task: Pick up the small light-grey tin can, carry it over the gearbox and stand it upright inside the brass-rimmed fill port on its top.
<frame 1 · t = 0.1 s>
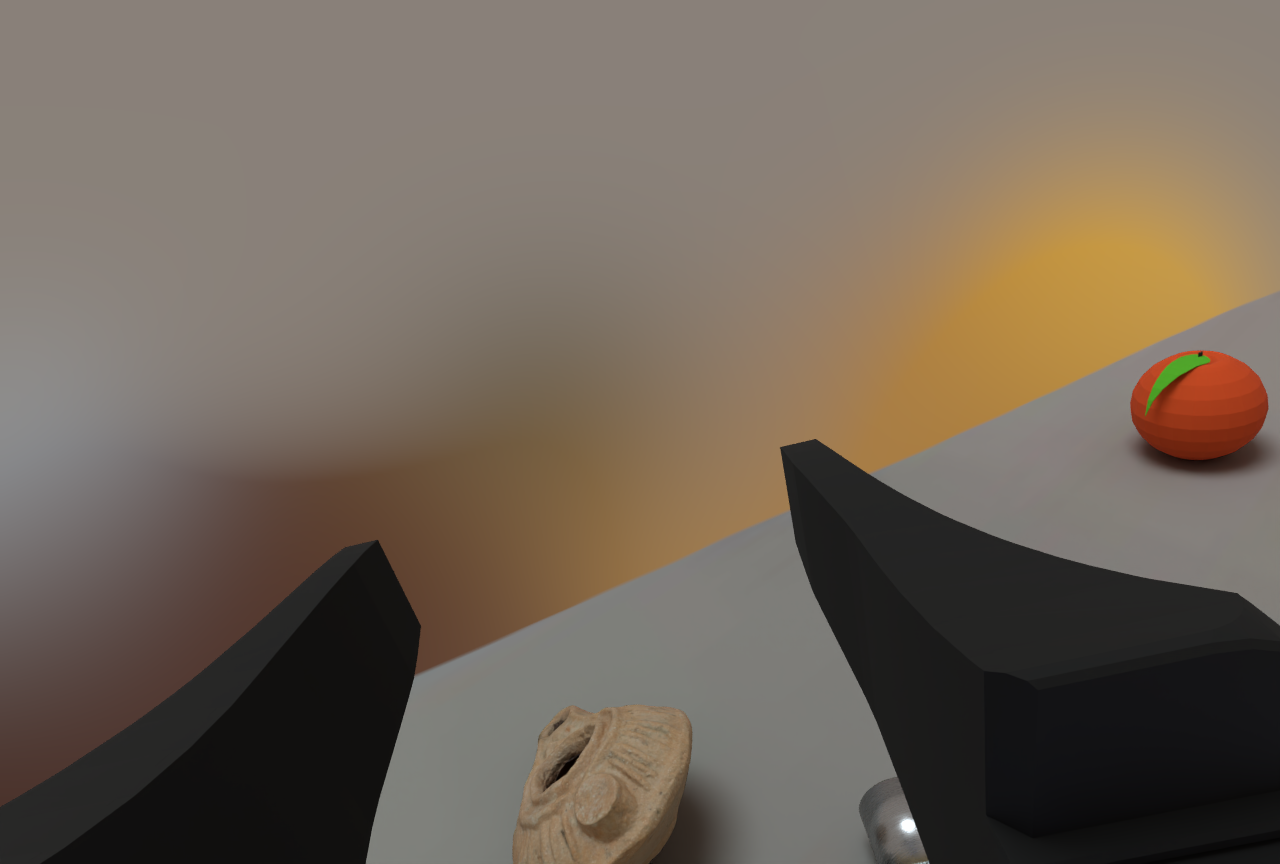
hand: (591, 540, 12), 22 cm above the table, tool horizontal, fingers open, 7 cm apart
pottery oil lamp: (612, 827, 32), on the table
clementine: (1186, 459, 47), on the table
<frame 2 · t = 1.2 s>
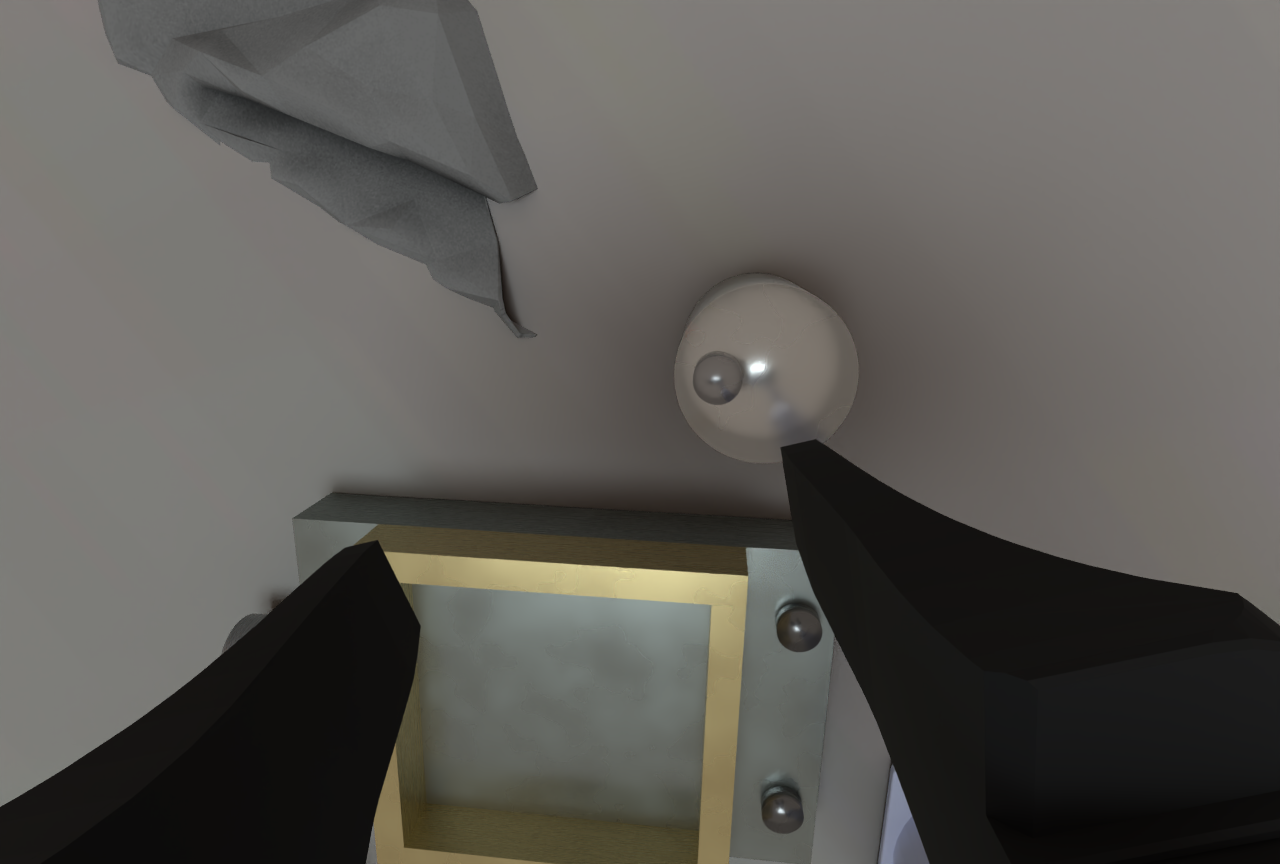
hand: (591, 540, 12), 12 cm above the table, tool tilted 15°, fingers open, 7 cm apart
gearbox: (573, 656, 27), on the table
tin can: (753, 345, 23), on the table
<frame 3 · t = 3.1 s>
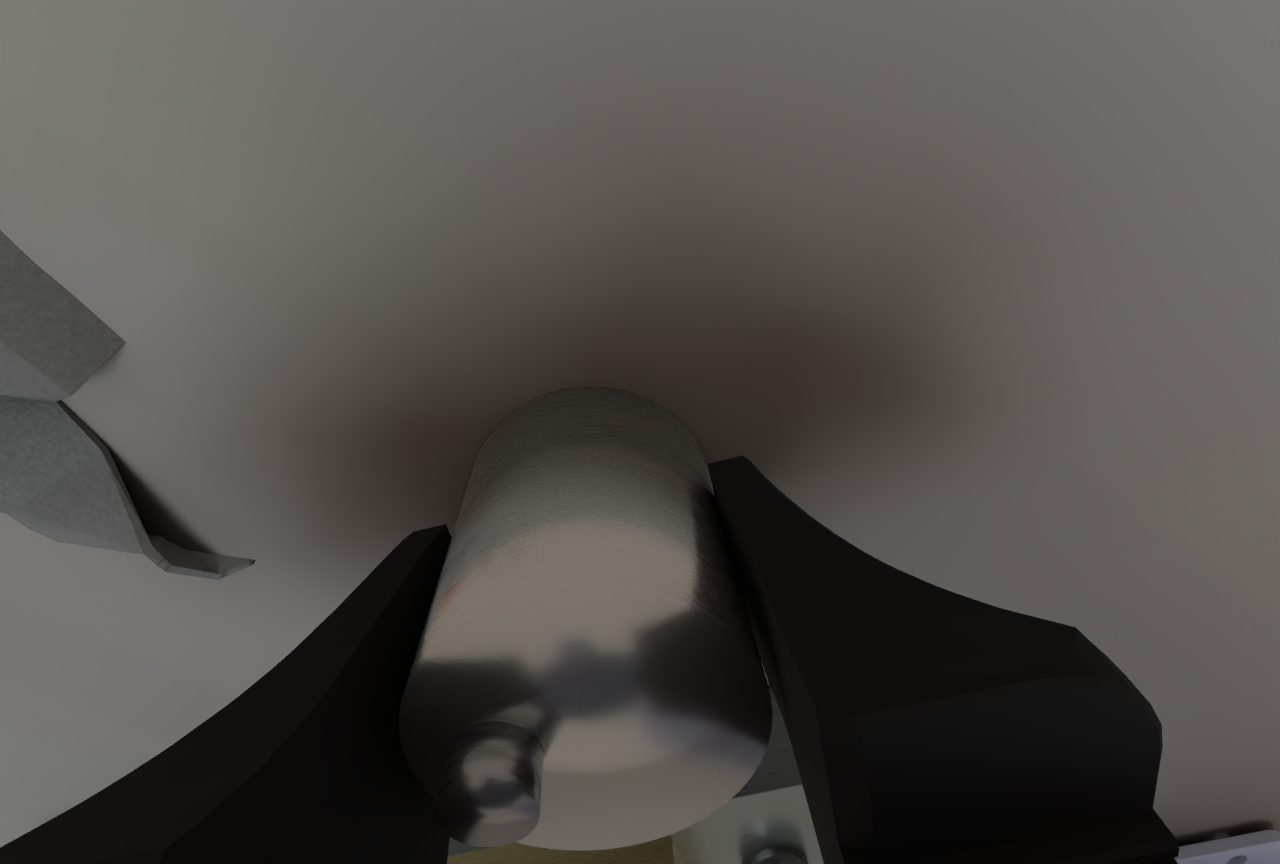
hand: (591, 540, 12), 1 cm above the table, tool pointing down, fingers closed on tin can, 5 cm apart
tin can: (591, 497, 14), on the table, touching gripper
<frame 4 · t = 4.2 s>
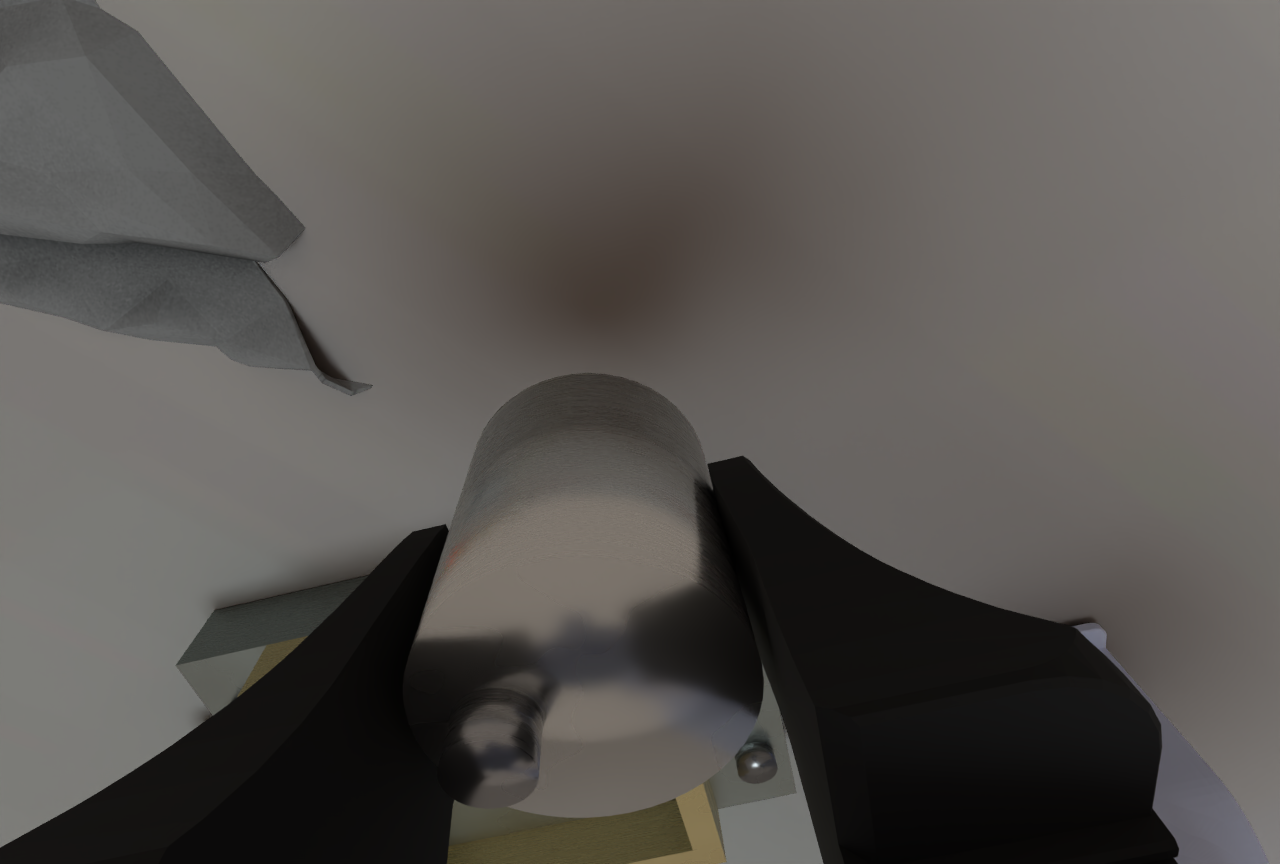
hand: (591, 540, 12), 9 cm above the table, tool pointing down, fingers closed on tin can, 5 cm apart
gearbox: (521, 679, 27), on the table
tin can: (590, 481, 14), point 8 cm above the table, touching gripper
when the fingers open (5 cm above the table, at t = 6.4 s): tin can stays where it is, resting on gearbox.
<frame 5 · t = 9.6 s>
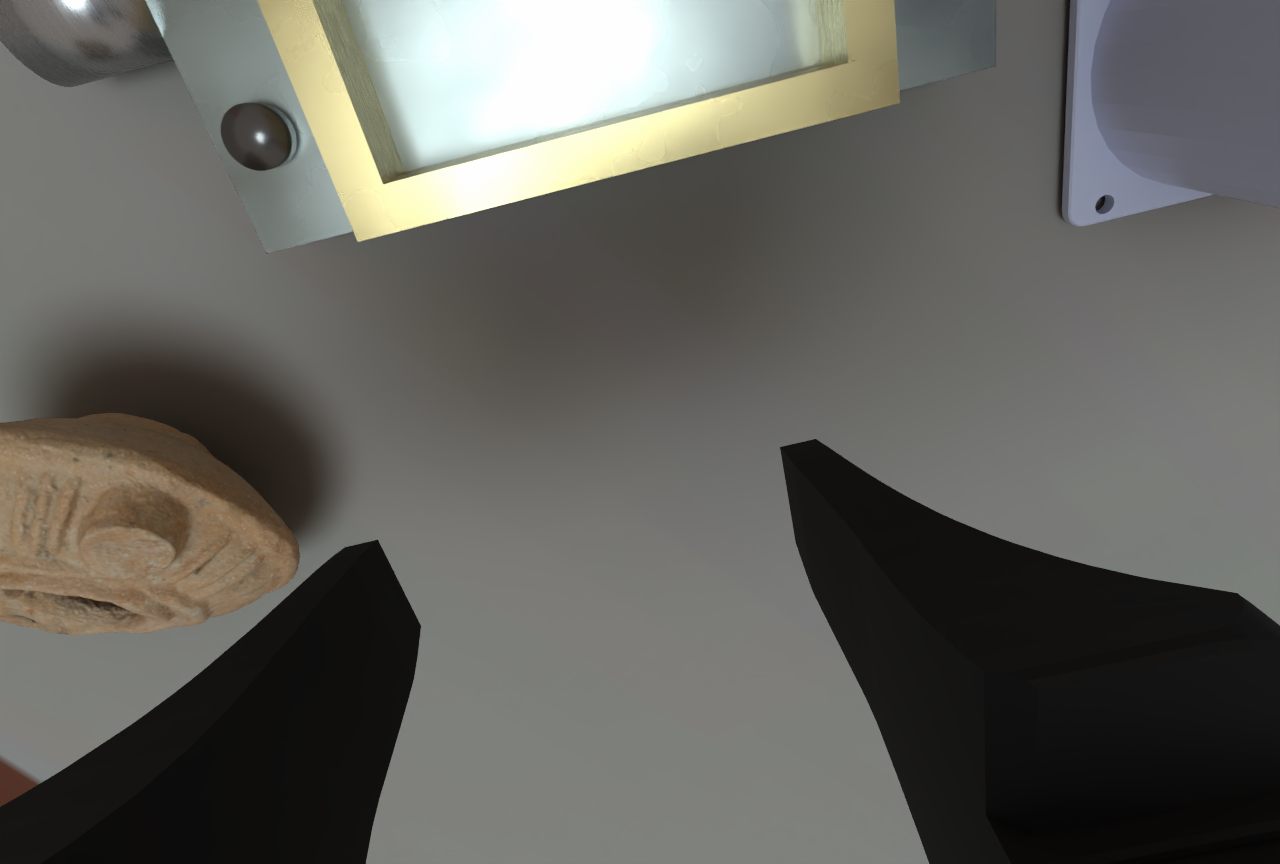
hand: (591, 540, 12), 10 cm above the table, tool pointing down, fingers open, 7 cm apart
pottery oil lamp: (156, 486, 23), on the table
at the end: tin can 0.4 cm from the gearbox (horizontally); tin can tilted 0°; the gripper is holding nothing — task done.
